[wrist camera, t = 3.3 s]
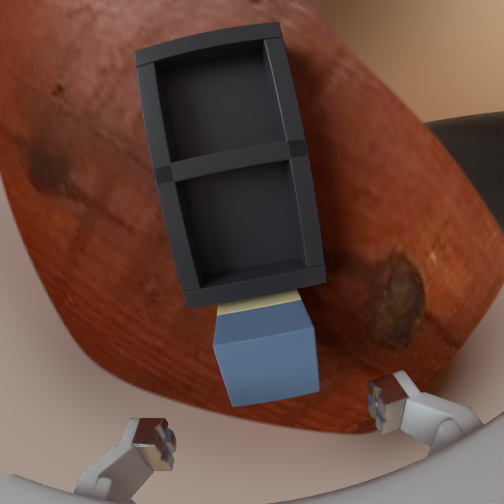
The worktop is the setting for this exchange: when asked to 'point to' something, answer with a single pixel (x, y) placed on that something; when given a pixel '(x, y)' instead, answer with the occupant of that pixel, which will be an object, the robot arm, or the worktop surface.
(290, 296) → the pad beige
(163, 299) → the worktop surface
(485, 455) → the robot arm
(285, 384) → the pad blue
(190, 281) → the backing frame
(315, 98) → the worktop surface
